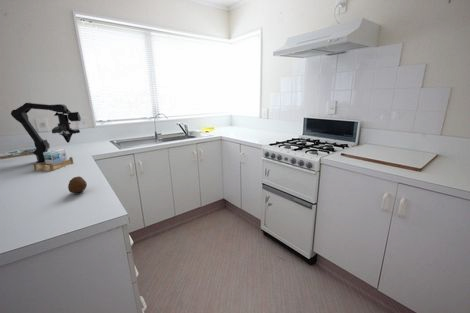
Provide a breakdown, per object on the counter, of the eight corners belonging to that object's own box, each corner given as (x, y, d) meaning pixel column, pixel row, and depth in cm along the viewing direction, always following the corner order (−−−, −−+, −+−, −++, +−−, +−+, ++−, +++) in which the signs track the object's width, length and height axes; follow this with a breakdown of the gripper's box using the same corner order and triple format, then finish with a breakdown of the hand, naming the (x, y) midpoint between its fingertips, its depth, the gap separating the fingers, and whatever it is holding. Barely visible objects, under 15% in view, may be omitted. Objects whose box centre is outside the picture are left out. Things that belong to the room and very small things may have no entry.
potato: (87, 187, 114) (84, 173, 112) (88, 194, 106) (85, 178, 104) (70, 191, 110) (66, 176, 108) (69, 198, 102) (65, 182, 100)
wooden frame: (34, 170, 144) (32, 163, 143) (57, 163, 160) (55, 157, 158) (52, 170, 142) (50, 164, 141) (73, 163, 158) (72, 157, 157)
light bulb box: (54, 168, 148) (51, 152, 145) (46, 168, 149) (42, 152, 146) (68, 163, 158) (65, 148, 155) (60, 163, 159) (57, 148, 156)
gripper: (42, 122, 157) (47, 144, 161) (65, 123, 155) (69, 145, 159) (56, 121, 168) (61, 141, 172) (78, 121, 165) (82, 142, 169)
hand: (68, 142), depth 168 cm, fingers closed
